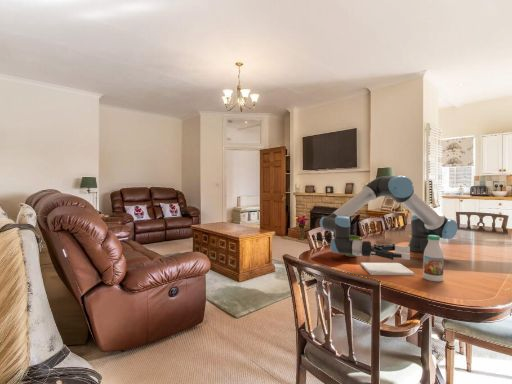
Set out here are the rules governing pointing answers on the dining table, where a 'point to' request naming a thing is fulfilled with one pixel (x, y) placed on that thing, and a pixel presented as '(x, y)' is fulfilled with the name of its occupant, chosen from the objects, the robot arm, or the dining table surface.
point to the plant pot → (353, 239)
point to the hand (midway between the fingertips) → (410, 253)
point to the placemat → (386, 269)
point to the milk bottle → (433, 260)
